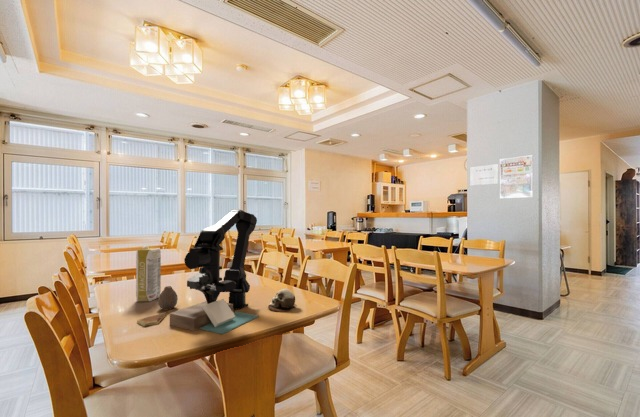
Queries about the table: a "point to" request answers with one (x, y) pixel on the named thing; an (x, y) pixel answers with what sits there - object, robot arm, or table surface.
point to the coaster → (219, 312)
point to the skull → (283, 301)
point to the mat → (230, 323)
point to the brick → (192, 317)
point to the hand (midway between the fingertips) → (211, 308)
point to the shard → (151, 319)
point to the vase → (168, 298)
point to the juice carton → (148, 273)
